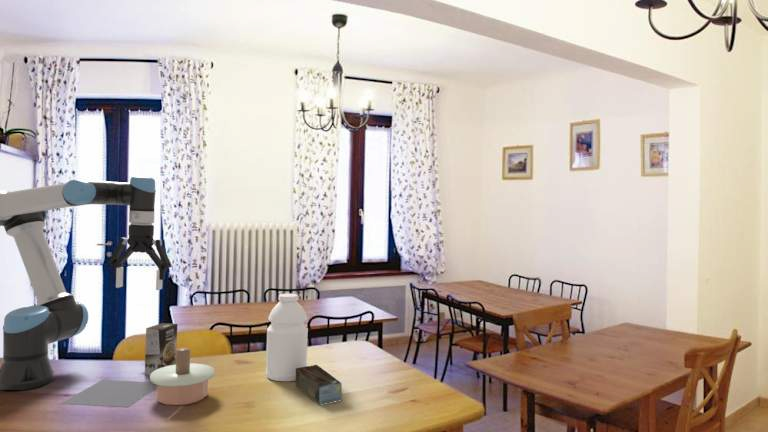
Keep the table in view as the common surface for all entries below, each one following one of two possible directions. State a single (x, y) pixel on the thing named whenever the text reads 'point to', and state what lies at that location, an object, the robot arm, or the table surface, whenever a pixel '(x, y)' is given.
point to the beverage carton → (318, 384)
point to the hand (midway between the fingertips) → (139, 288)
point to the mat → (112, 393)
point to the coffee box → (160, 346)
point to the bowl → (182, 394)
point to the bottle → (286, 339)
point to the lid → (182, 372)
